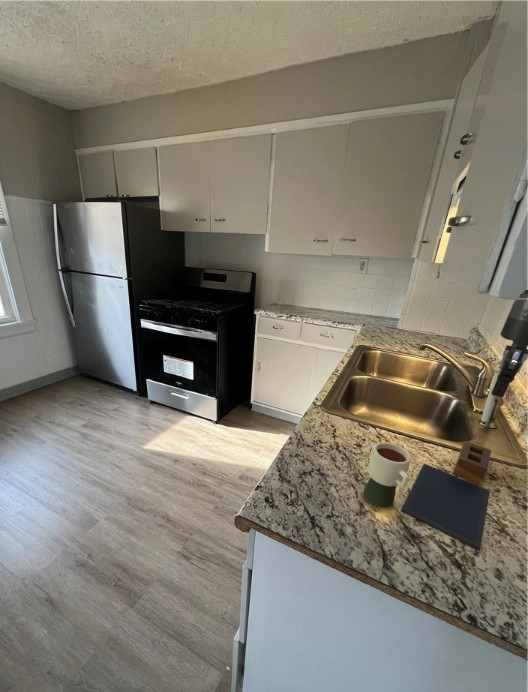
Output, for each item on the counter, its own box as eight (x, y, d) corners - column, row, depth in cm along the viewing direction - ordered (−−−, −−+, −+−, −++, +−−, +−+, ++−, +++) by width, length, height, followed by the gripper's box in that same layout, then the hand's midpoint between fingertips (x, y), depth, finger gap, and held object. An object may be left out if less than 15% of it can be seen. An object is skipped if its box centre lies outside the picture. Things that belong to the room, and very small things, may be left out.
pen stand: (458, 455, 85) (464, 440, 83) (484, 465, 82) (491, 450, 80) (452, 474, 78) (458, 458, 76) (479, 485, 75) (487, 469, 73)
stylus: (480, 422, 74) (495, 370, 69) (487, 424, 73) (503, 372, 69) (479, 424, 73) (494, 372, 68) (486, 426, 72) (502, 373, 68)
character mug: (408, 515, 66) (426, 467, 60) (379, 521, 64) (395, 472, 59) (376, 479, 75) (389, 435, 70) (350, 484, 74) (361, 438, 68)
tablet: (423, 465, 81) (423, 463, 81) (488, 492, 73) (490, 490, 73) (400, 511, 67) (401, 508, 67) (479, 551, 59) (480, 547, 59)
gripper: (559, 326, 56) (517, 411, 63) (555, 315, 65) (519, 390, 72) (506, 318, 60) (473, 398, 67) (510, 309, 69) (480, 380, 77)
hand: (497, 393), depth 70 cm, fingers closed on stylus, 1 cm apart
